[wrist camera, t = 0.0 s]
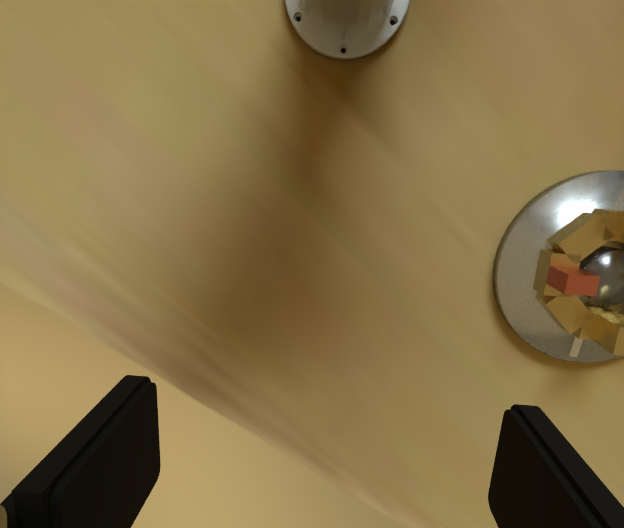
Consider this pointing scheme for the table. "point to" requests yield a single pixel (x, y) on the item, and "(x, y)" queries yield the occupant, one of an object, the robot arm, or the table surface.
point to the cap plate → (533, 236)
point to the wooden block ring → (581, 279)
